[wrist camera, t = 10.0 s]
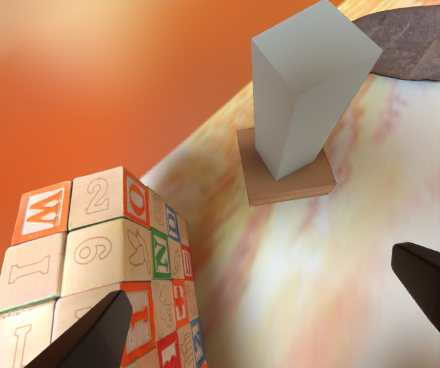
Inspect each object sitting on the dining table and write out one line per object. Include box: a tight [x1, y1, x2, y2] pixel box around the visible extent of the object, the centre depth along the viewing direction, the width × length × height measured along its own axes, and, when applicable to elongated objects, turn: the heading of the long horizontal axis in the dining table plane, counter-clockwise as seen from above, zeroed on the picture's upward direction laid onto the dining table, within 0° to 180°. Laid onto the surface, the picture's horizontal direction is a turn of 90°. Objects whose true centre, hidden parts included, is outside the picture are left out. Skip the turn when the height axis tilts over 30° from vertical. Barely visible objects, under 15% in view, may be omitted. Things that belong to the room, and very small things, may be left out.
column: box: [251, 0, 383, 181], centre depth 15 cm, size 4×4×12 cm
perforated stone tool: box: [352, 5, 440, 81], centre depth 24 cm, size 15×5×7 cm, turn 65°
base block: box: [237, 128, 337, 206], centre depth 23 cm, size 8×8×3 cm
